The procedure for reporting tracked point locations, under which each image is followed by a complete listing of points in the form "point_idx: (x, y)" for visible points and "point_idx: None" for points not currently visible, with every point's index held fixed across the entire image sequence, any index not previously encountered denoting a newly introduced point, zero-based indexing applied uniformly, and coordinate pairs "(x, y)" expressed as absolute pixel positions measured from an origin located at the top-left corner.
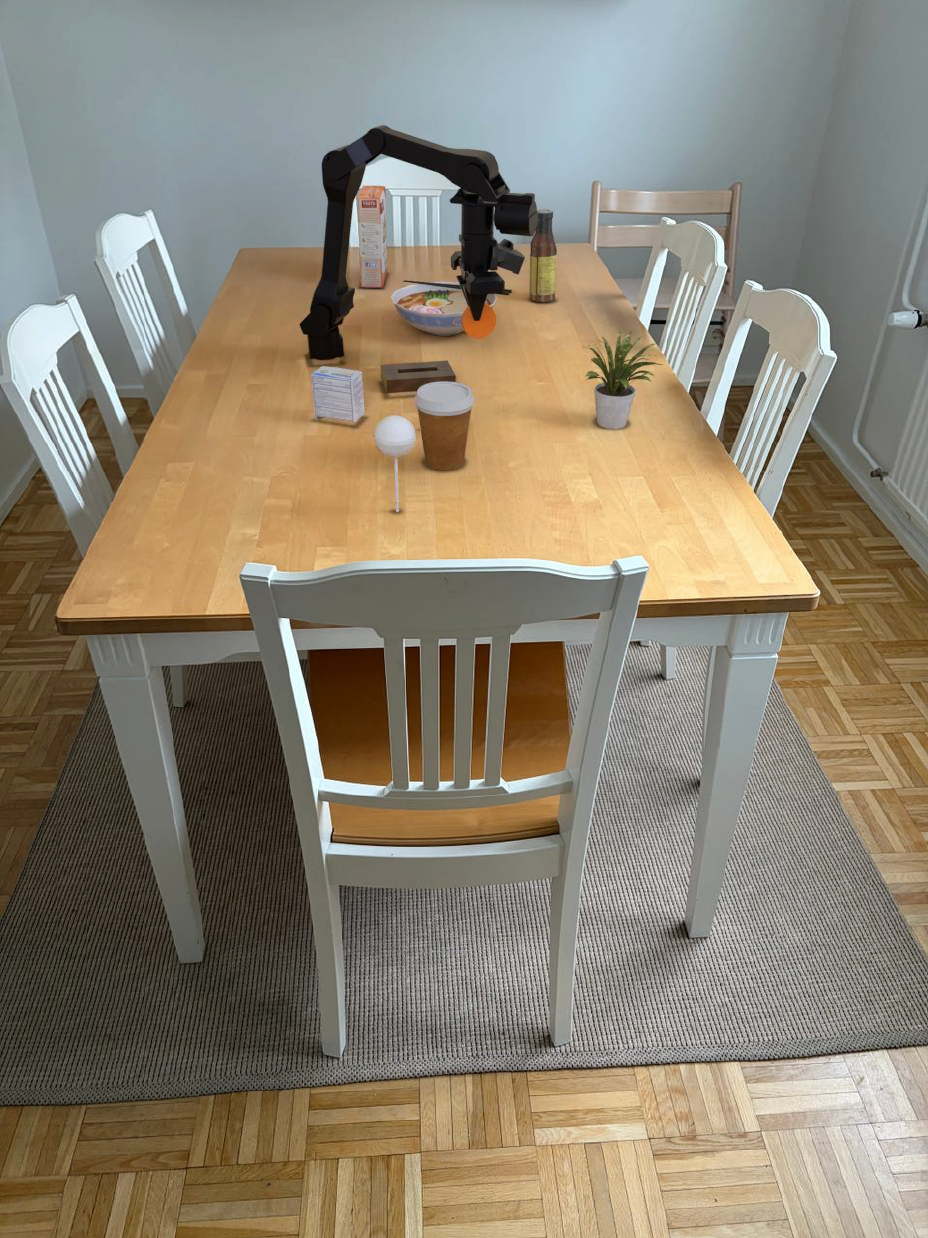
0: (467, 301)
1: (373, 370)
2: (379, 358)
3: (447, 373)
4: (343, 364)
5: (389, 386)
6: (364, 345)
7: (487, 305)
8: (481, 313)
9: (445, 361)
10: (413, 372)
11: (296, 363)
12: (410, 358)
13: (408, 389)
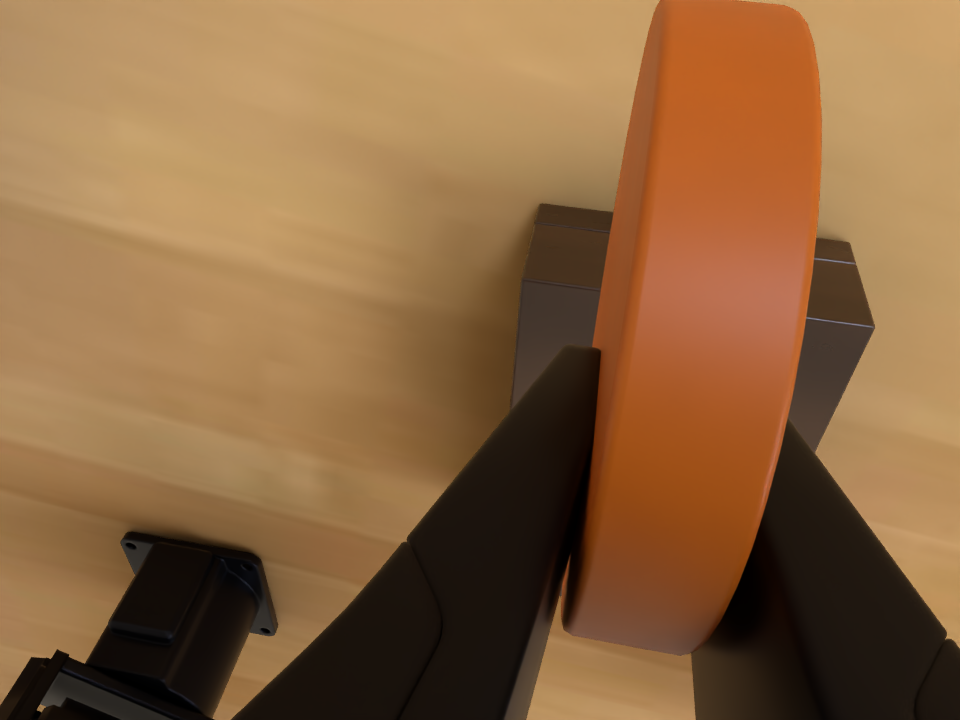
0: (529, 703)
1: (345, 486)
2: (180, 425)
3: (801, 363)
4: (261, 549)
5: None
6: (5, 429)
7: (778, 441)
8: (816, 459)
9: (542, 299)
10: None
11: (247, 643)
12: (171, 301)
13: None
